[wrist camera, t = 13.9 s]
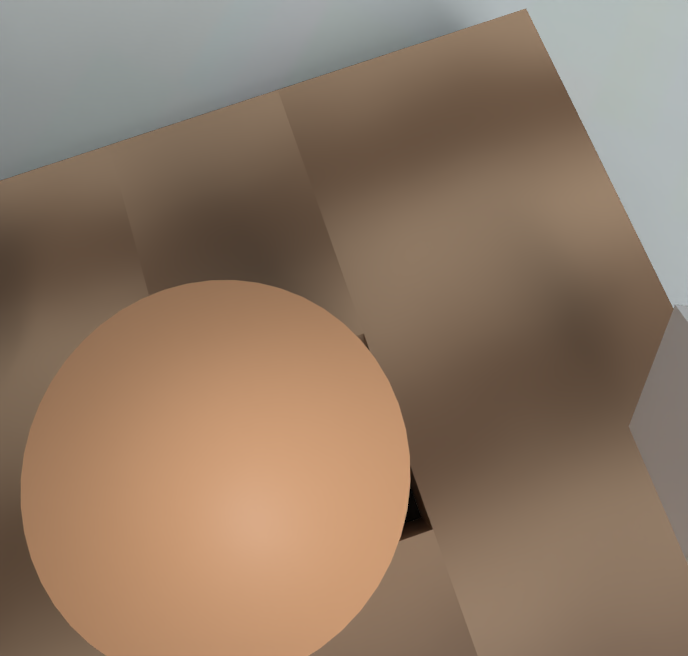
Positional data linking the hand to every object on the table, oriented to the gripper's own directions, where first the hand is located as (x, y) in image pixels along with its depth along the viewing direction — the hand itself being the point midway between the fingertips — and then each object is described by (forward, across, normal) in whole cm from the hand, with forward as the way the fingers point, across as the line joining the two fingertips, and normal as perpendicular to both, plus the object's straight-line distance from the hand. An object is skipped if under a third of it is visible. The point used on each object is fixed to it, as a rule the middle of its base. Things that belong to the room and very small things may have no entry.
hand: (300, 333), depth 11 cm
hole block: (+2, 0, -6) cm, 6 cm away
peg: (+2, 0, -6) cm, 6 cm away
